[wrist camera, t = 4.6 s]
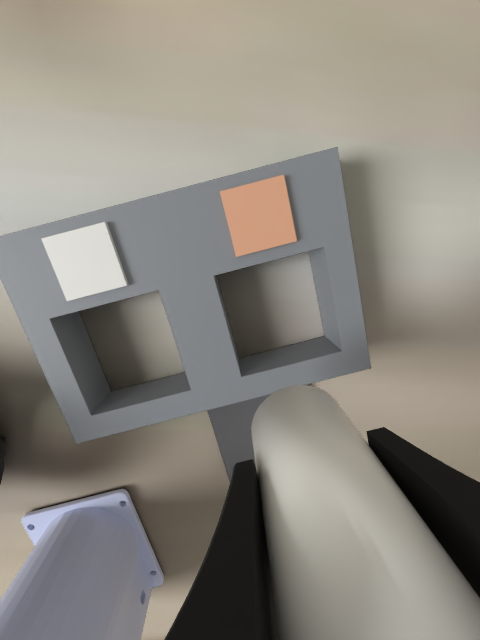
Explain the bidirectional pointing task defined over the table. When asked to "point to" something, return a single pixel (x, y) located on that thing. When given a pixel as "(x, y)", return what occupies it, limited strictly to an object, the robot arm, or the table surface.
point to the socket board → (188, 290)
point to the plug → (348, 534)
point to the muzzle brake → (2, 455)
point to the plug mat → (235, 431)
